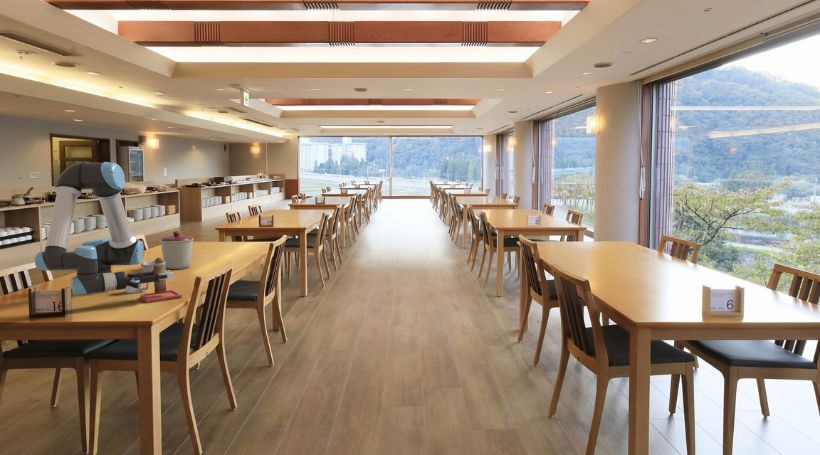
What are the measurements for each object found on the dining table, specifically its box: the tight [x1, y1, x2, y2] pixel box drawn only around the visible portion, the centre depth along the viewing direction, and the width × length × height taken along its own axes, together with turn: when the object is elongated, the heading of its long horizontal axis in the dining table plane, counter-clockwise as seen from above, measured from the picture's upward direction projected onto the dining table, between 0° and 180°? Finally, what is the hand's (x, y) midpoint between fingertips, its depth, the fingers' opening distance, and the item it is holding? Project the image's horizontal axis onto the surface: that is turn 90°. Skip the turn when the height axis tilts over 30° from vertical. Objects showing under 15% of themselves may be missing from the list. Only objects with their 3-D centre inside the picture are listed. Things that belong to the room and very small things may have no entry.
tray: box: [139, 289, 183, 304], centre depth 244 cm, size 12×14×2 cm
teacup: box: [140, 260, 167, 273], centre depth 289 cm, size 14×11×8 cm
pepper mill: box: [153, 257, 168, 294], centre depth 243 cm, size 5×5×16 cm
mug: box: [124, 282, 150, 295], centre depth 255 cm, size 10×7×7 cm, turn 101°
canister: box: [158, 230, 195, 270], centre depth 312 cm, size 18×18×21 cm
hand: (172, 274), depth 247 cm, fingers closed on pepper mill, 5 cm apart
